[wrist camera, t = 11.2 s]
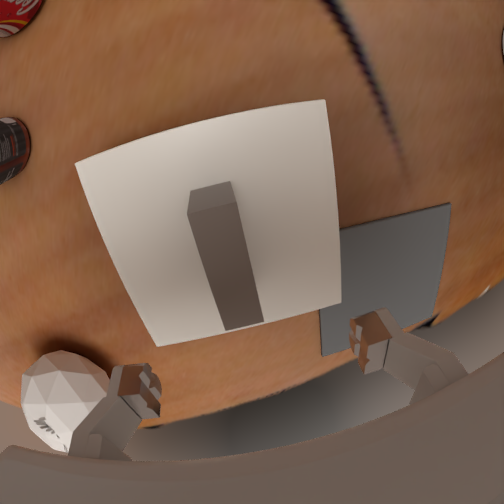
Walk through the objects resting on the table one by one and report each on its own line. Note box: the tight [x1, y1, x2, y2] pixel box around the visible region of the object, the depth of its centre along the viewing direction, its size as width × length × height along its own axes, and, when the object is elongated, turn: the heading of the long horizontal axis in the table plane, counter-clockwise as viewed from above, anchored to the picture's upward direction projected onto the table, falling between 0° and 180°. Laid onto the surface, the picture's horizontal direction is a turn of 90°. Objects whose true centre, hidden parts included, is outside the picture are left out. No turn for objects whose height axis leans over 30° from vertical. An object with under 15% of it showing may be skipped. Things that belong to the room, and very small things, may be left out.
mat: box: [319, 203, 451, 357], centre depth 33 cm, size 18×18×1 cm
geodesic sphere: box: [21, 350, 110, 453], centre depth 27 cm, size 14×14×14 cm
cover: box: [75, 99, 341, 347], centre depth 18 cm, size 16×16×5 cm
